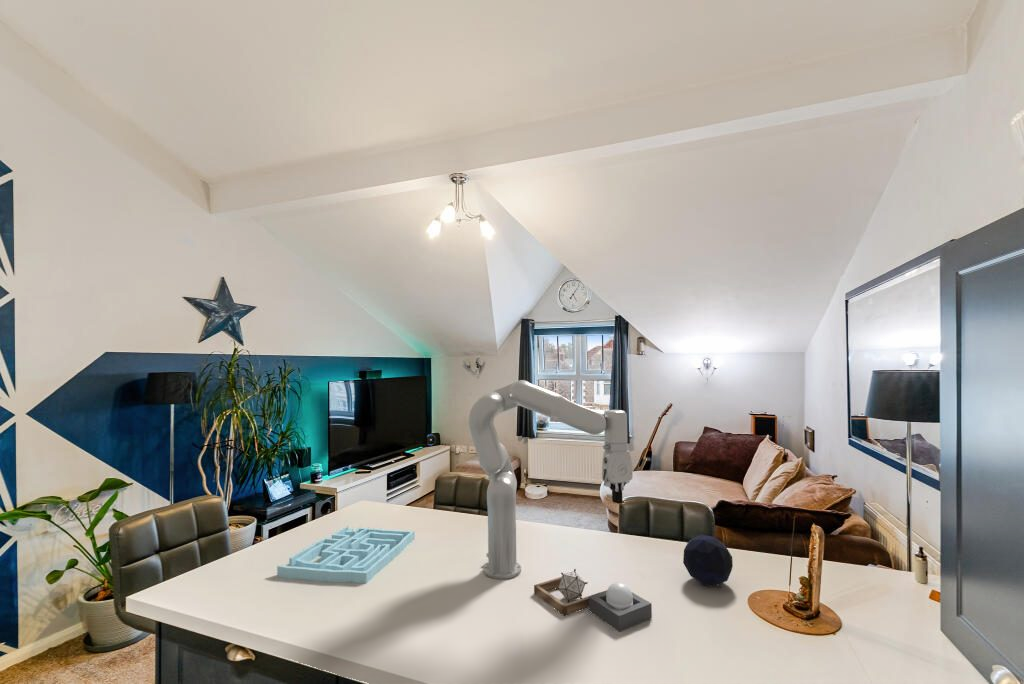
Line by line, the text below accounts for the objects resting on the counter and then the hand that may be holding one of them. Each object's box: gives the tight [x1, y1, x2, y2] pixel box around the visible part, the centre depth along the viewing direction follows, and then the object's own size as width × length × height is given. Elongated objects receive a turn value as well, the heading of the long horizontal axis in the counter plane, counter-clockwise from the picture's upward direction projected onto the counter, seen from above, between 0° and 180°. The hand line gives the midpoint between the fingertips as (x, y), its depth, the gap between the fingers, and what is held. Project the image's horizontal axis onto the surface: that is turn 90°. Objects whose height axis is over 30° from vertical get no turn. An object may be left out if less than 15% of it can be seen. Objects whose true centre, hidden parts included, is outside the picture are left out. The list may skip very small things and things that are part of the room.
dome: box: [606, 581, 633, 610], centre depth 128 cm, size 7×7×7 cm
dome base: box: [588, 589, 653, 632], centre depth 128 cm, size 12×12×4 cm
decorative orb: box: [682, 534, 734, 587], centre depth 146 cm, size 14×15×15 cm
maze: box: [276, 526, 415, 584], centre depth 170 cm, size 40×33×4 cm
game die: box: [554, 568, 589, 604], centre depth 136 cm, size 9×8×10 cm
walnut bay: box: [533, 576, 601, 617], centre depth 137 cm, size 15×14×2 cm
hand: (617, 502), depth 154 cm, fingers closed
